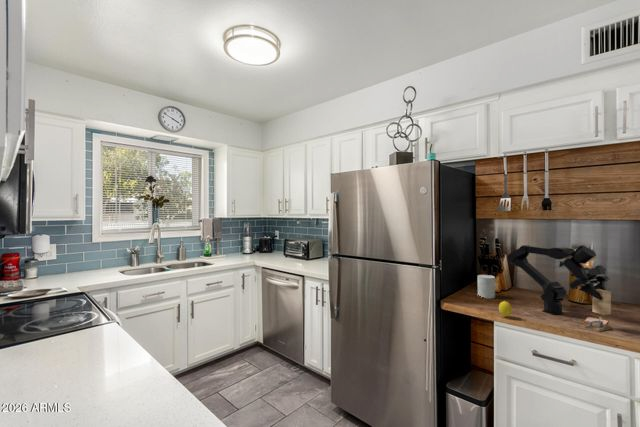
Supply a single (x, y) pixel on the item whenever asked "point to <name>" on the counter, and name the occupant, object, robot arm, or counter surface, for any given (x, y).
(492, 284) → the white cylinder
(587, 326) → the wire stand
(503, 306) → the lemon
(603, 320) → the pad
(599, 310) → the oak block
